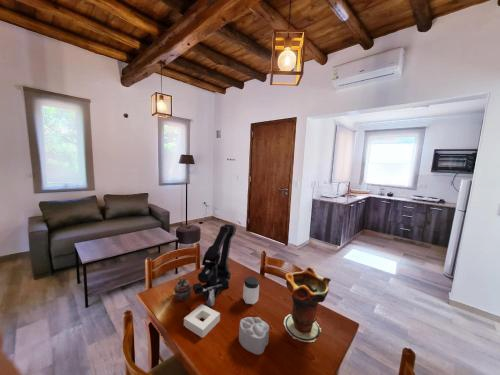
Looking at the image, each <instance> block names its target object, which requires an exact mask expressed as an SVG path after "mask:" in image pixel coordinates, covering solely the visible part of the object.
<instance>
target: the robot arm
mask: <svg viewBox="0 0 500 375" xmlns="http://www.w3.org/2000/svg"><path fill="white" fill-rule="evenodd" d="M236 233H237V227H236V226H235V224H228V223H225V224H224V225H221V226H220V228H219V231H218V233H217V235H216V238H215V240H214V242H213V243H212V245H211V246H208V248H207V250H206V251H205V253H204V256H203V259H202V261H201V265H202V266H204V267H203V268H202V269H201V271H200V272H198V275H197V280H198V281H199V282H198V283H194V284H193V285H192V291H193V293H194V294H195V295H196V296H197V295H201V294H202V295H204V297H205V300H206V302H207V301H208V291H207V288H210V287H214V288H215V297H214V300H215V299H216V298H217V296H218V295H219V293H220V292H221V291H223V290H226V289H227V290H228V289H230V281H229V280H231V276H232V273H231V272H230V265H229V263H228V262H229V254H230V249H231V243H232V239H233V238H234V237H235V234H236Z"/></svg>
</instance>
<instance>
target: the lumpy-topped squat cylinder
mask: <svg viewBox="0 0 500 375" xmlns="http://www.w3.org/2000/svg"><path fill="white" fill-rule="evenodd" d="M238 331H239V332H238V341H239V343H240V345H241V346H242V348H243V349H245V350H246V351H248V352H250V353H251V354H254V355H261V354H263V353H264V351H265V348H266V347H267V345H268V344H269V339H270V338H269V336H270V325H269V324H268V323H267V322H266V321H264V320H262V319H261V318H260V317H258V316H256V317H253V316H247V317H244V318H241V319H240V321H239V329H238Z"/></svg>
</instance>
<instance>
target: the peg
mask: <svg viewBox="0 0 500 375" xmlns="http://www.w3.org/2000/svg"><path fill="white" fill-rule="evenodd" d="M207 291H208V301H206V306H207V307H213V306H214V305H215V299H214V297H215V288H214V287H210V288H207Z"/></svg>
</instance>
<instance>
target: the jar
mask: <svg viewBox="0 0 500 375" xmlns="http://www.w3.org/2000/svg"><path fill="white" fill-rule="evenodd" d="M259 284H260V280H259V278H258V277H256V276H253V275H251V276H247V277H245V279H244V282H243V289H242V290H243V291H242V292H243V293H242V299H243V300H244V302H245V304H247V305H249V304H250V305H255V304H256V303H257V302H258V301H259V297H260V296H259V293H260V285H259Z"/></svg>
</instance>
